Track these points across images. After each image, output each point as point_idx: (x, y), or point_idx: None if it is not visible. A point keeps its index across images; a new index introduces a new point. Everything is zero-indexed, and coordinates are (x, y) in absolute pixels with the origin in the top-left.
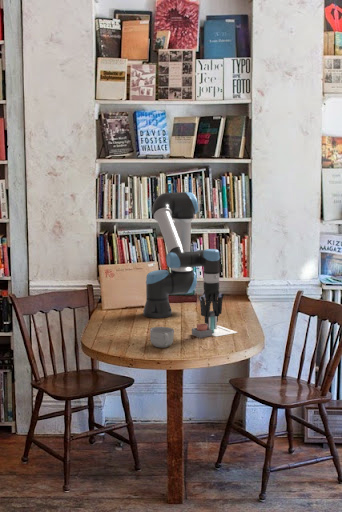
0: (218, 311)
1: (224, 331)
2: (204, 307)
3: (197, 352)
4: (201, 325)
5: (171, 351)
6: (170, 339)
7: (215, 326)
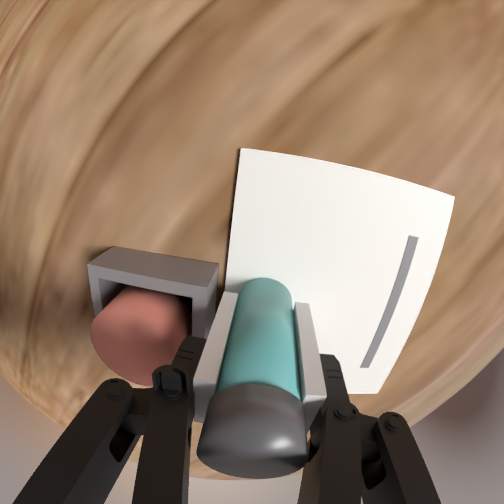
0: (370, 454)
1: (348, 346)
2: (86, 501)
3: (59, 407)
4: (120, 356)
5: (3, 346)
6: None
7: None
